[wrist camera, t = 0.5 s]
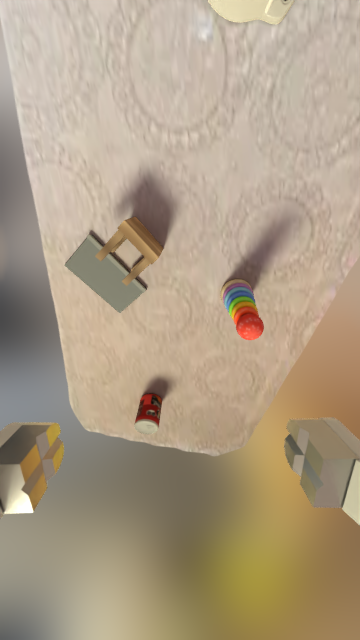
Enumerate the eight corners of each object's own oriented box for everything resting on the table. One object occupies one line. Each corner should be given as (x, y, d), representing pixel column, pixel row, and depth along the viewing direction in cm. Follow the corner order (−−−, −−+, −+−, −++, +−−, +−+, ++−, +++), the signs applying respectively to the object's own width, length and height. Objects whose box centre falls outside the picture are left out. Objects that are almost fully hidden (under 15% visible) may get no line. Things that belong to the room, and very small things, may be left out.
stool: (135, 216, 45) (124, 220, 38) (163, 248, 49) (158, 257, 41) (108, 246, 49) (93, 254, 41) (136, 273, 52) (127, 286, 44)
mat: (91, 233, 48) (89, 234, 47) (146, 288, 54) (146, 290, 53) (65, 264, 52) (63, 265, 51) (120, 312, 58) (119, 314, 57)
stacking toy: (228, 273, 51) (245, 308, 35) (256, 283, 52) (286, 321, 36) (215, 300, 55) (226, 343, 39) (242, 309, 56) (263, 354, 40)
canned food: (164, 404, 78) (161, 432, 68) (145, 407, 79) (139, 436, 70) (157, 391, 74) (153, 419, 65) (137, 395, 76) (130, 423, 66)
